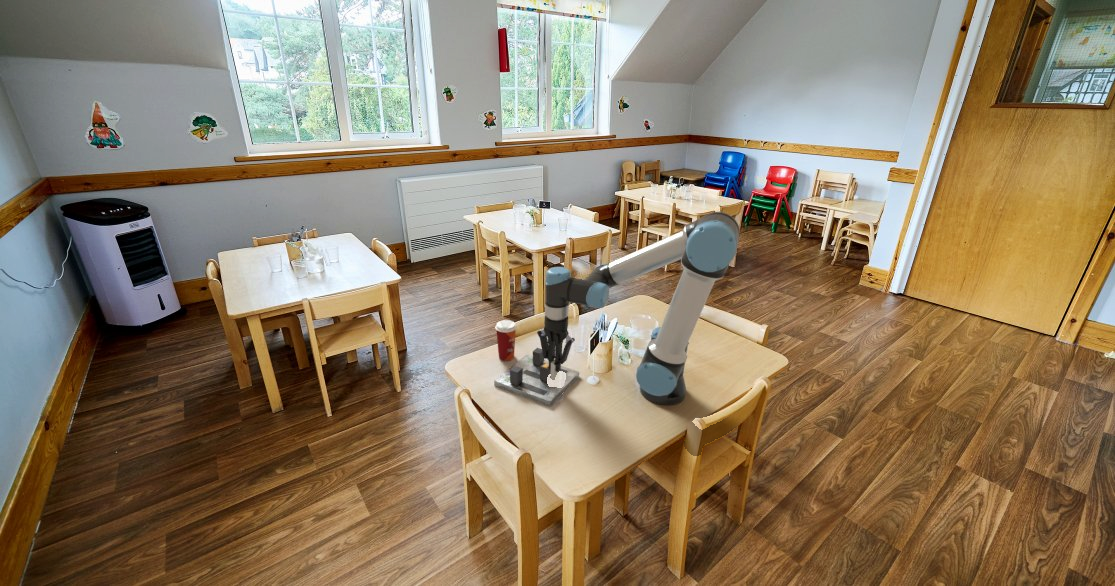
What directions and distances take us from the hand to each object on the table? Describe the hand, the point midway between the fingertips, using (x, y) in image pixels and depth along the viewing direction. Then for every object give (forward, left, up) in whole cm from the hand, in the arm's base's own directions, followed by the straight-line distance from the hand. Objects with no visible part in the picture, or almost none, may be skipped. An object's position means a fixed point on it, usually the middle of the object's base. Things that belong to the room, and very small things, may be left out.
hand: (554, 378), depth 158 cm
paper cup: (+25, -7, -4) cm, 26 cm away
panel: (+7, 0, -4) cm, 8 cm away
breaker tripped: (+3, 0, -1) cm, 4 cm away
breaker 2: (+11, -7, -1) cm, 13 cm away
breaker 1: (+11, +7, -1) cm, 13 cm away
